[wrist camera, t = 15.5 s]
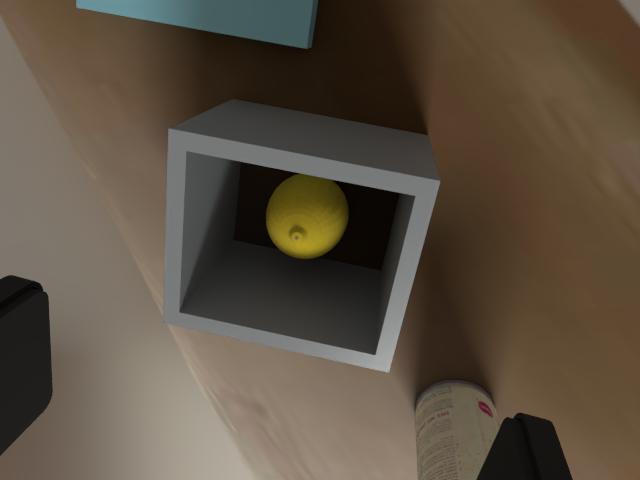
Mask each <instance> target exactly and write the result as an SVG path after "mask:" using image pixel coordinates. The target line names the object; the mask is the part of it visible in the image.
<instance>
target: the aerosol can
mask: <svg viewBox="0 0 640 480" xmlns="http://www.w3.org/2000/svg"><path fill="white" fill-rule="evenodd" d="M415 425H416V448H417V472H418V480H476V479H477V477H478V475H479V472H480V470H481V468H482V466H483V464H484V461H485V459H486V457H487V455H488V453H489V451H490V448H491V446H492V444H493V442H494V440H495V437H496V435H497V433H498V431H499V429H500V424H499V420H498V417H497V413H496V410H495V405H494V403H493V401H492V399H491V397H490V395H489V394H488V393H487V392H486V391H485V390H484V389H483V388H481V387H479V386H477V385H475V384H473V383H471V382H467V381H463V380H444V381H441V382H438V383H435V384H432V385H431V386H429V387H428V388H426V389H425V390H424V391H423V392H422V393H421V394H420V396H419V397H418V398H417V402H416V405H415Z"/></svg>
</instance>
